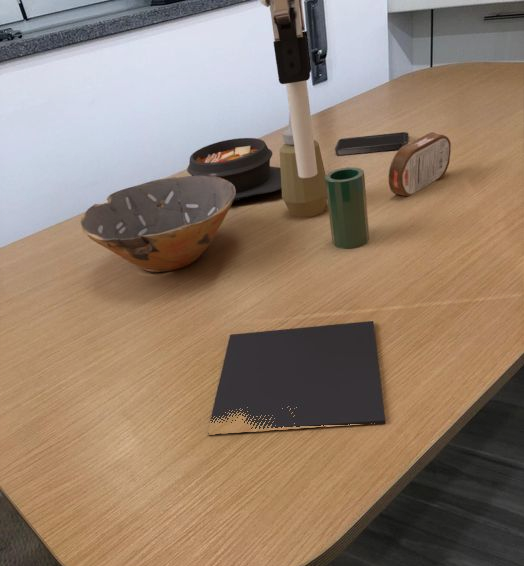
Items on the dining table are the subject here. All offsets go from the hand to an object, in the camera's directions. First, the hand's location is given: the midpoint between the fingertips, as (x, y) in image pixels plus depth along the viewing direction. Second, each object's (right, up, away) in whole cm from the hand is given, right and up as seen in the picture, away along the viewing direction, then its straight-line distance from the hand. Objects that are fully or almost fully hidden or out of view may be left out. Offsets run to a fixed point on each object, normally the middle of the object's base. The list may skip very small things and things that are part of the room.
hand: (295, 76), depth 63 cm
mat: (+1, -32, +5) cm, 32 cm away
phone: (+20, +15, +66) cm, 70 cm away
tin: (+25, 0, +43) cm, 49 cm away
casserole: (-9, +3, +58) cm, 58 cm away
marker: (+2, -9, +6) cm, 11 cm away
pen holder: (+10, -12, +30) cm, 34 cm away
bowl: (-18, -14, +36) cm, 43 cm away
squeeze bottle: (+5, -5, +42) cm, 43 cm away
